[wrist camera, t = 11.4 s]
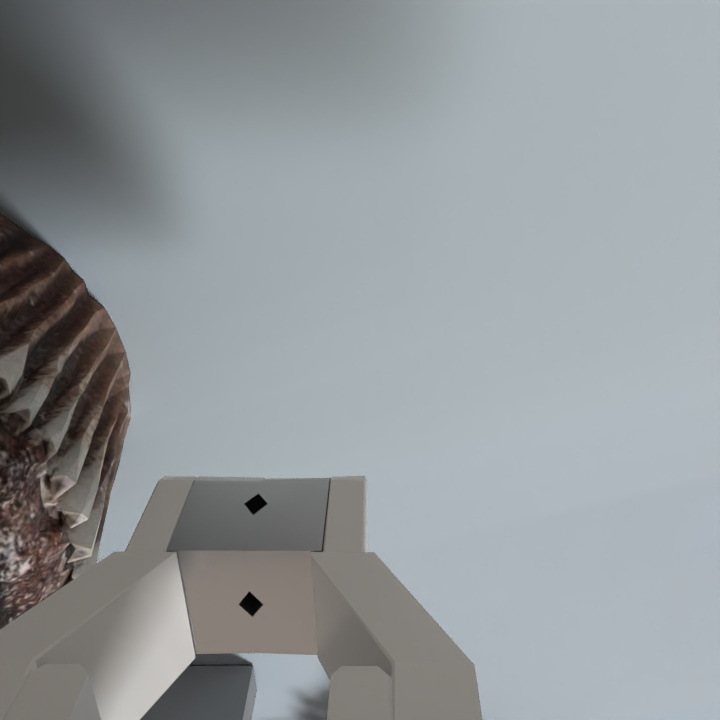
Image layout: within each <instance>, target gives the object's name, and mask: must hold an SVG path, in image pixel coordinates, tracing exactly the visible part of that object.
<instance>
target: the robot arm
mask: <svg viewBox="0 0 720 720" xmlns="http://www.w3.org/2000/svg"><path fill="white" fill-rule="evenodd" d="M222 653H277V654H305V655H318V659H319V661H320V663H321V664H322V666H323V668H324V670H325V672H326V674H327V675H328V677H329V679H330V688H329V699H328V710H327V720H482V714H481V707H480V700H479V693H478V686H477V679H476V673H475V666H474V664H473V663H472V662H471V661H470V659H469V658H468V657H467V656H466V655H465V654H464V653H463V652H462V650H461V649H460V648H459V647H458V646H457V645H456V644H455V643H454V641H453V640H452V639H451V638H450V637H449V636H448V635H447V634H446V632H445V631H444V630H443V629H442V628H441V627H440V626H439V624H438V623H437V622H436V621H435V620H434V619H433V618H432V617H431V615H430V614H429V613H428V612H427V611H426V610H425V609H424V608H423V606H422V605H421V604H420V603H419V602H418V601H417V600H416V599H415V597H414V596H413V595H412V594H411V593H410V592H409V591H408V590H407V588H406V587H405V586H404V585H403V584H402V583H401V582H400V581H399V579H398V578H397V577H396V576H395V575H394V574H393V573H392V572H391V570H390V569H389V568H388V567H387V566H386V565H385V564H384V562H383V561H382V560H381V559H380V558H379V557H378V556H377V555H376V553H373V552H368V533H367V480H366V478H365V476H346V477H332V478H270V479H265V478H245V477H198V478H197V477H170V476H165V477H163V478H162V479H161V480H159V482H158V483H157V485H156V487H155V489H154V491H153V493H152V496H151V498H150V500H149V502H148V504H147V506H146V508H145V510H144V512H143V515H142V517H141V519H140V521H139V523H138V525H137V527H136V529H135V531H134V533H133V536H132V538H131V540H130V542H129V544H128V546H127V548H126V550H125V552H114V553H112V554H111V555H109V556H108V557H106V558H105V559H103V560H102V561H100V562H99V563H97V564H96V565H94V566H93V567H91V568H90V569H89V570H87V571H86V572H84V573H83V574H81V575H80V576H78V577H77V578H75V579H74V580H72V581H71V582H69V583H68V584H66V585H65V586H64V587H62V588H61V589H59V590H58V591H56V592H55V593H53V594H52V595H50V596H49V597H47V598H46V599H44V600H43V601H41V602H40V603H38V604H37V605H36V606H34V607H33V608H31V609H30V610H28V611H27V612H25V613H24V614H22V615H21V616H19V617H18V618H16V619H15V620H13V621H12V622H10V623H9V624H8V625H6V626H5V627H3V628H2V629H0V720H140V719H141V718H142V717H143V716H144V714H145V713H146V712H147V711H148V710H149V709H150V708H151V707H152V706H153V704H154V703H155V702H156V701H157V700H158V699H159V698H160V697H161V696H162V694H163V693H164V692H165V691H166V690H167V689H168V688H169V687H170V686H171V684H172V683H173V682H174V681H175V680H176V679H177V678H178V677H179V676H180V674H181V673H182V672H183V671H184V670H185V669H186V668H187V667H188V666H189V664H190V663H191V662H192V661H193V660H194V659H195V654H222Z"/></svg>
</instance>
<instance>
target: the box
mask: <svg viewBox="0 0 720 720" xmlns="http://www.w3.org/2000/svg"><path fill="white" fill-rule="evenodd" d="M256 691H257V689H256V683H255V676H254V669H253V666H188V667H187V668H186V669H185V670H184V671H183V672H182V673H181V674H180V676H179V677H178V678H177V679H176V680H175V681H174V682H173V683H172V684H171V686H170V687H169V688H168V689H167V690H166V691H165V692H164V693H163V694H162V696H161V697H160V698H159V699H158V700H157V701H156V702H155V703H154V704H153V706H152V707H151V708H150V709H149V710H148V711H147V712H146V713H145V714H144V716H143V717H142V718H141V719H140V720H251V719H252V713H253V708H254V702H255V697H256Z"/></svg>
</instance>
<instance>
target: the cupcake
mask: <svg viewBox="0 0 720 720" xmlns="http://www.w3.org/2000/svg"><path fill="white" fill-rule="evenodd" d="M129 380H130V369H129V364H128V360H127V355H126V351H125V349H124V346H123V344H122V341H121V339H120V336H119V334H118V332H117V329H116V327H115V325H114V323H113V322H112V320H111V318H110V316H109V315H108V313H107V311H106V309H105V308H104V307H103V306H102V305H101V304H100V303H98V302H97V301H96V300H94V299H93V298H92V297H91V296H89V294H88V291H87V288H86V285H85V281H84V280H83V279H82V278H80V277H79V276H78V275H77V274H76V273H75V272H74V271H73V270H72V269H71V267H70V266H69V264H68V263H67V261H66V260H65V258H63V257H62V256H61V255H60V254H59V253H57V252H56V251H55V250H54V249H52V248H51V247H50V246H49V245H47V244H45V243H44V242H42V241H40V240H38V239H36V238H34V237H32V236H31V235H29V234H28V233H27V232H25V231H24V230H23V229H21V228H20V227H19V226H17V225H16V224H15V223H13V222H12V221H11V220H9V219H8V218H6V217H5V216H4V215H2V214H1V213H0V629H2V628H3V627H5V626H6V625H8V624H9V623H10V622H12V621H13V620H15V619H16V618H18V617H19V616H21V615H22V614H24V613H25V612H27V611H28V610H30V609H31V608H33V607H34V606H36V605H37V604H38V603H40V602H41V601H43V600H44V599H46V598H47V597H49V596H50V595H52V594H53V593H55V592H56V591H58V590H59V589H61V588H62V587H64V586H65V585H66V584H68V583H69V582H71V581H72V580H74V579H75V578H77V577H78V576H80V575H81V574H83V573H84V572H86V571H87V570H89V569H90V568H91V567H93V566H94V565H96V562H97V556H98V550H99V545H100V540H101V535H102V531H103V526H104V522H105V517H106V513H107V508H108V503H109V499H110V494H111V490H112V487H113V483H114V480H115V476H116V473H117V469H118V466H119V462H120V457H121V452H122V448H123V443H124V438H125V435H126V432H127V428H128V425H129V422H130V418H131V409H130V397H129Z"/></svg>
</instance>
